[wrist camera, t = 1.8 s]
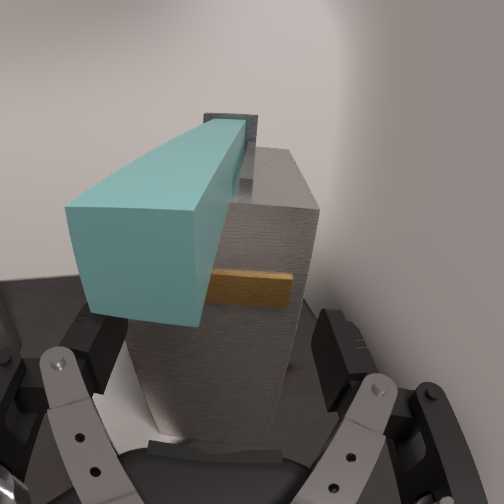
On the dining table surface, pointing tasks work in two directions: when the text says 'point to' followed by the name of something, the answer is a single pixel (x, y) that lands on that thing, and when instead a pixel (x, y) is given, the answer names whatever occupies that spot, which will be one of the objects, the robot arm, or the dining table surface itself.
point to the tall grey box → (236, 310)
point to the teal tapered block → (158, 226)
